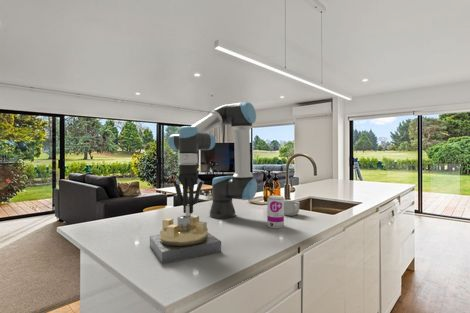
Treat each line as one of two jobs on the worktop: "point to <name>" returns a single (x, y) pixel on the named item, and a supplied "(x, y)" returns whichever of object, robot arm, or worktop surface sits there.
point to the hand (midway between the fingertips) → (188, 221)
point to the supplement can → (275, 211)
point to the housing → (184, 249)
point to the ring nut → (183, 231)
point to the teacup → (291, 208)
